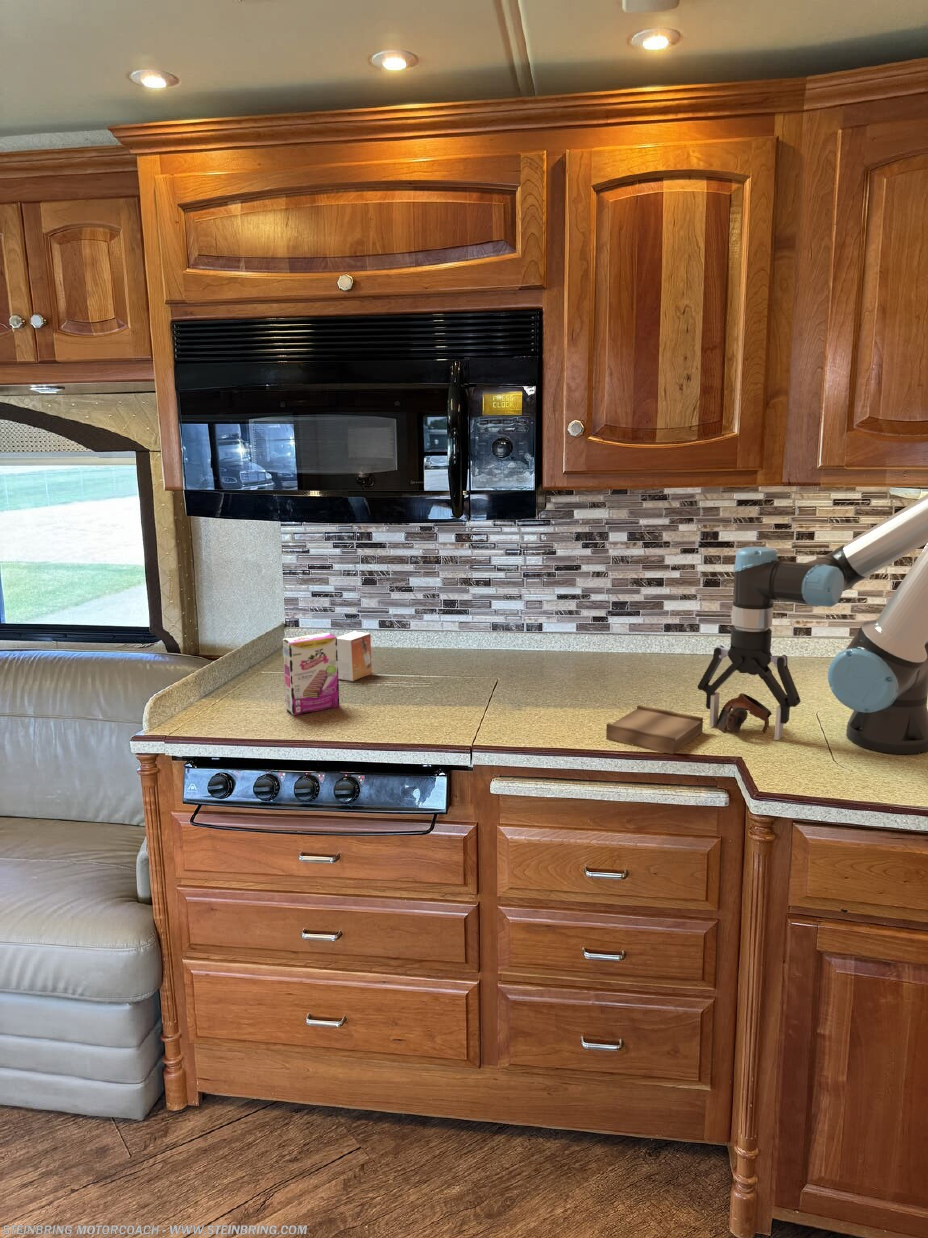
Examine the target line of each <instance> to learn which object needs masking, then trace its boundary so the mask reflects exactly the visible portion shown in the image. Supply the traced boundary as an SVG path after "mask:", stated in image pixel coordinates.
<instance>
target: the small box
mask: <svg viewBox="0 0 928 1238" xmlns="http://www.w3.org/2000/svg"><path fill="white" fill-rule="evenodd" d="M336 637H337V655H338V678H339V679H338V680H344V681H349V682H350V681H351V682H355V681H356V680H359V679H361V678H364V677H367V676H370V675H372V673H373V669H372V668H373V667H372V666H373V665H372V663H373V662H372V646H371V645H372V643H371V642H372V641H371V639H372V638H371V633H369V632H361V631H354V630H353V631H351V632H348V633H346V634H343V635H340V636H336Z"/></svg>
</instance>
